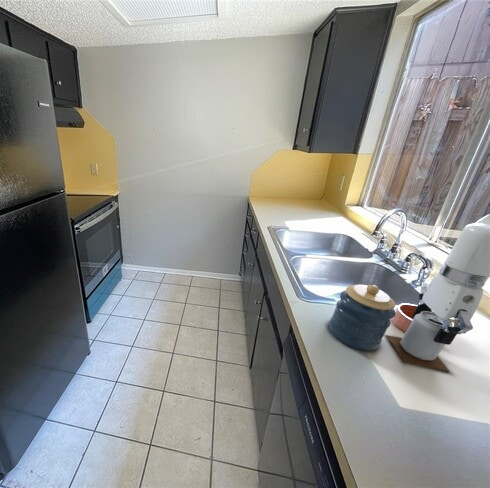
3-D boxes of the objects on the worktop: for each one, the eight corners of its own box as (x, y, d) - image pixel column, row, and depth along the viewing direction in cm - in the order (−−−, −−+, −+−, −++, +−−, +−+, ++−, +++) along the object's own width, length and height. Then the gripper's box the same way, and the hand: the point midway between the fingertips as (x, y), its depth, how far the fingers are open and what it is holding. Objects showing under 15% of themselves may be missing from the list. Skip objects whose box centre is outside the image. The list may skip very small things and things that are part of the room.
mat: (425, 344, 76) (426, 343, 75) (448, 372, 67) (449, 371, 67) (386, 336, 78) (386, 335, 78) (403, 361, 69) (404, 360, 69)
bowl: (426, 320, 86) (433, 308, 84) (451, 346, 75) (460, 333, 73) (384, 312, 89) (390, 300, 87) (403, 336, 78) (410, 323, 76)
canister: (389, 345, 74) (416, 295, 67) (358, 356, 70) (384, 304, 63) (347, 316, 86) (366, 271, 78) (318, 324, 81) (336, 277, 74)
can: (398, 351, 72) (417, 317, 67) (399, 337, 77) (417, 305, 72) (434, 367, 67) (458, 332, 62) (433, 351, 73) (455, 318, 68)
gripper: (515, 298, 53) (471, 358, 60) (456, 261, 69) (426, 312, 76) (470, 291, 55) (432, 350, 62) (422, 256, 70) (396, 307, 77)
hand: (429, 329), depth 69 cm, fingers open, 9 cm apart
